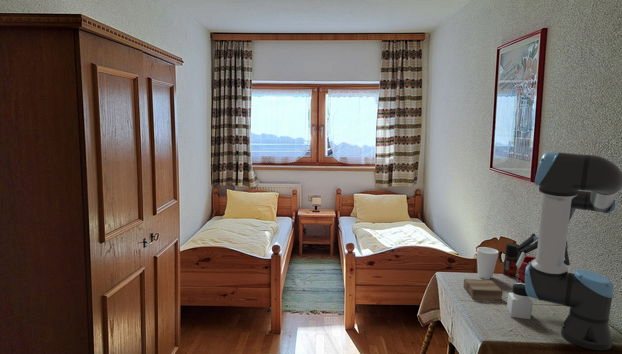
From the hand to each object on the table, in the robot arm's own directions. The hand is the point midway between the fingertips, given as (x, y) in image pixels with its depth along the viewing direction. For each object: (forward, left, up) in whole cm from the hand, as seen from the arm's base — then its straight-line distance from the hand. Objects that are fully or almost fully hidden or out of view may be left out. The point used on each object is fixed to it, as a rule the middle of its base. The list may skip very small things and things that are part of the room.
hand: (534, 271), depth 177 cm
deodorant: (+31, -20, -15) cm, 40 cm away
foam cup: (+32, -6, -15) cm, 36 cm away
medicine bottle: (-4, +10, -15) cm, 18 cm away
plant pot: (+17, -19, -15) cm, 30 cm away
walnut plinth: (+16, +10, -15) cm, 24 cm away
